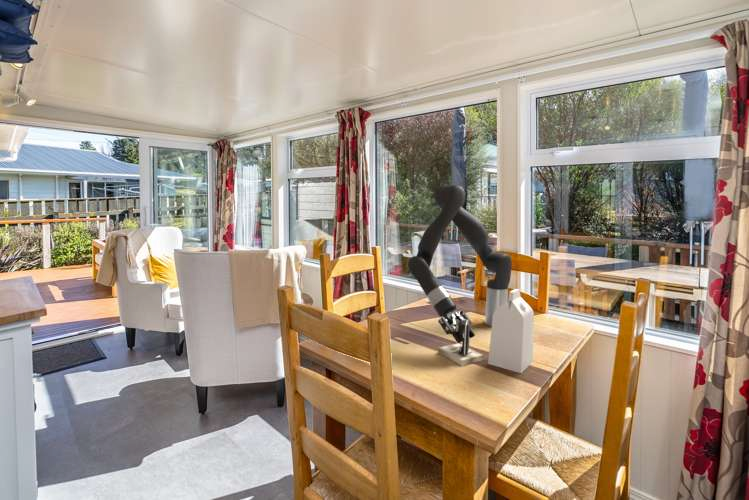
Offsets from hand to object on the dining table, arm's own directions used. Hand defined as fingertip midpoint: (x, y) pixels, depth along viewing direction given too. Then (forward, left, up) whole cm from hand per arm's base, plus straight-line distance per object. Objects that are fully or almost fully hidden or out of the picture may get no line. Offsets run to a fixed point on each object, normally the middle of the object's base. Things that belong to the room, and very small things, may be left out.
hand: (467, 339), depth 139 cm
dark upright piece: (+1, -1, -5) cm, 6 cm away
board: (0, -3, -7) cm, 8 cm away
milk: (-11, +10, -7) cm, 17 cm away
